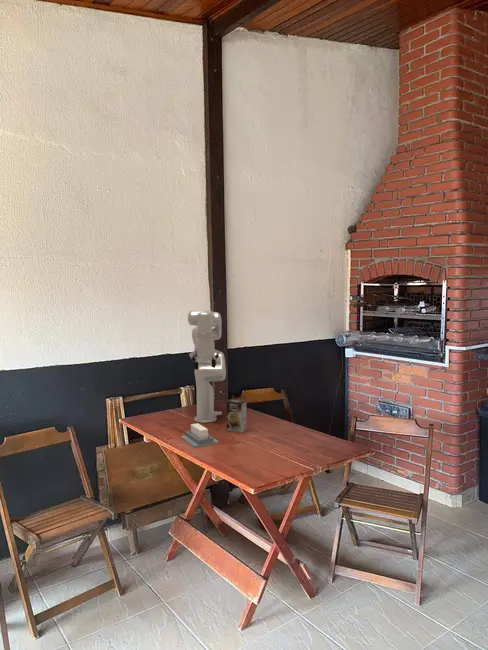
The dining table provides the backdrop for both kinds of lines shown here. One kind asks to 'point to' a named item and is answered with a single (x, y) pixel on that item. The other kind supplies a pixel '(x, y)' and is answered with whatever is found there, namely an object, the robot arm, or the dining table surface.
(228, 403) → the coffee box
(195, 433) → the long beige rectangular prism
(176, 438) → the dining table surface
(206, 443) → the cradle
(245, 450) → the dining table surface
